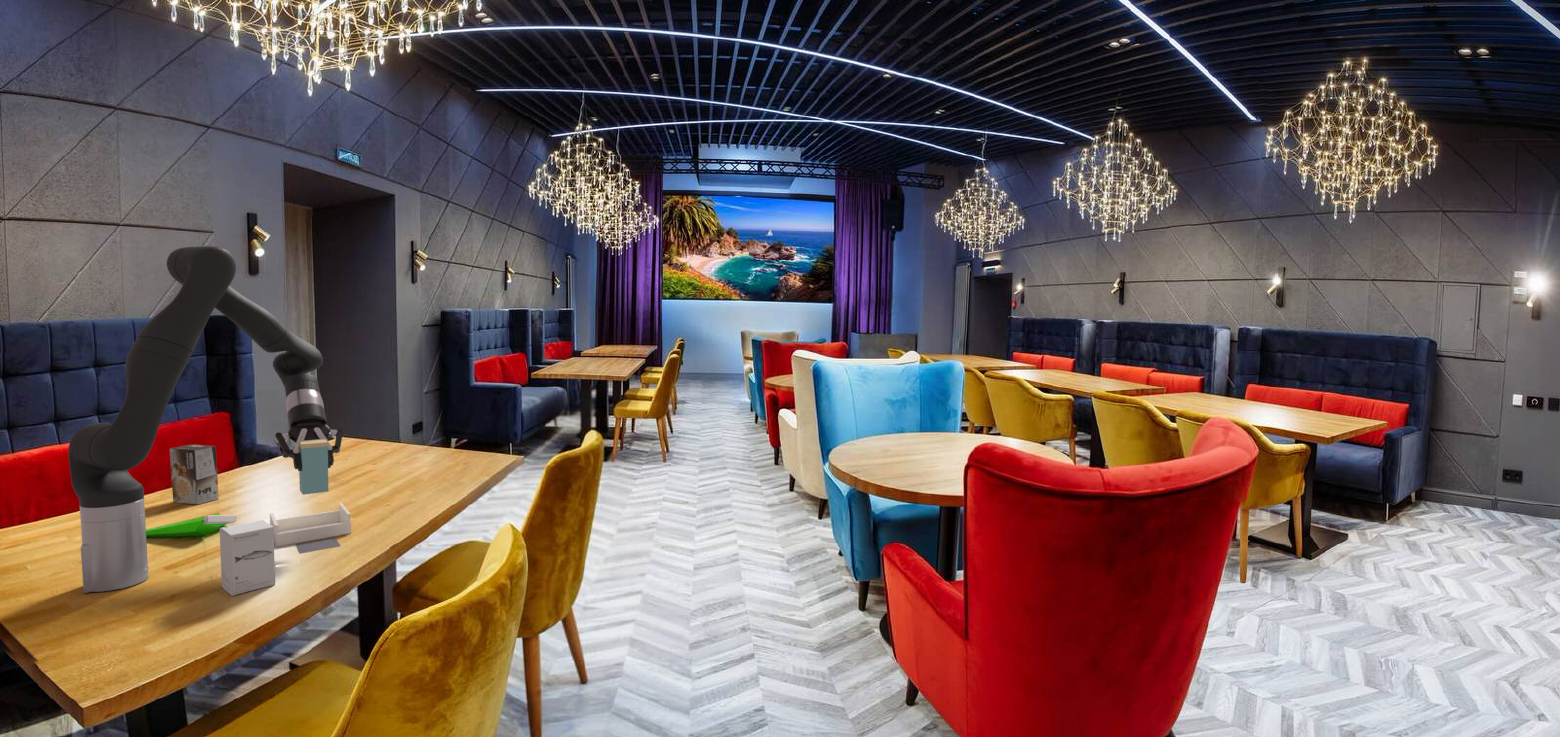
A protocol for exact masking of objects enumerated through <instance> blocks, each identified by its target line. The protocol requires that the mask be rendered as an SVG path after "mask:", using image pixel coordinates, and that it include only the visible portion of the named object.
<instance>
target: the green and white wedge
mask: <svg viewBox="0 0 1560 737" xmlns="http://www.w3.org/2000/svg"><path fill="white" fill-rule="evenodd" d="M237 519H238V517H237V515H234V514H220V513H218V512H217V513H212V514H208V515H203V516H199V517H195V518H191V519H187V520H181V521H177V522H173V523H169V524H164V525H160V526H156V527H155V526H154V527H152V528H148V529H147V528H146V538H163V537H164V538H169V537H168V536H177V537H205V535H210V534H212V533H215V532H216V531H218V530H220V528H223V527H226V525H228V524H229V525H230V524H232V525H233V524H234V523H237V521H238V520H237ZM166 536H167V537H166Z"/></svg>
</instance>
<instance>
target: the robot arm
mask: <svg viewBox="0 0 1560 737" xmlns="http://www.w3.org/2000/svg"><path fill="white" fill-rule="evenodd" d="M236 263H237V262H236V260H235V258H234V256H233V255H232V253H231V252H229V250H227V249H226V248H222V247H218V246H213V245H205V246H204V245H203V246H187V247H186V246H185V247H180V248H176V249H175V250H173V251H172V252H170V253H169V255H168V256H167V260H166V267H167V271H168V273H169V274H170V276H171V278H172V279H173V280H175V281H176V282H177V283H179V284H180V285H181V288H180V290H179V291H178V293H177V295H176V296H175V297H174V298H173V300H172V301H171V302H170V303H169V304H167V305H166V306H165V307H164V308H163V309H162V310H161V311H160V312H159V313H157V314H156V315H155V316H154V317H153V318H151V319H150V320H149V321H148V322H147V324H145V325H144V327H143V328H142V329H141V331H140V332H139V334H138V335H137V336H136V339H135V341H134V342H133V345H132V347H130V348H131V349H129V352H128V354H127V357H126V360H125V380H126V381H125V382H126V393H125V394H126V395H125V399H124V402H123V404H122V405H121V407H120V409H119V412H118V413H117V415H116V417H115V419H114V420H113V422H112V423H111V422H108V423H107V422H97V423H96V422H95V423H90V424H88V425H87V424H86V425H84V426H82V427H81V428H79V429H77V430H76V431H75V433H74V434H73V435H72V437H71V439H70V441H69V444H68V450H67V451H68V452H67V453H68V465H69V472H70V478H71V481H70V482H71V486H72V489H73V492H74V493H75V495H76V496H77V497H78V502H79V515H80V517H79V518H80V531H81V533H80V534H81V545H80V557H81V558H80V559H81V573H82V574H81V575H82V578H81V579H82V591H83V594H86V593H87V594H88V593H93V592H94V593H98V592H99V593H100V592H101V593H102V592H109V591H114V590H115V591H116V590H120V589H126V588H128V587H133V586H135V585H138V584H141V583H144V582H145V581H146V580H147V579H149V563H148V562H149V561H148V544H147V537H146V529H147V526H146V509H145V493H144V492H145V491H144V490H145V488H144V486H143V484H142V483H140V482H139V481H138V480H136V479H135V478H134V477H133V476H132V475H131V474H130V472H129V470H132V469H133V468H134V469H135V467H137V466H140V464H141V463H142V462H144V460H145V459H146V458H147V457H148V455H149V454H150V451H151V450H152V447H153V446H154V443H155V439H156V437H157V434H158V431H159V427H160V425H161V423H162V422H161V421H162V419H163V416H164V414H165V411H166V408H167V406H168V404H169V402H170V399H171V397H172V395H173V393H174V390H175V389H176V386H177V384H178V381H179V380H180V377H181V376H182V374H183V372H184V371H185V369H186V366H187V365H188V363H189V360H190V359H191V356H192V354H193V353H194V350H195V348H196V345H197V343H198V341H199V339H200V337H201V335H202V333H203V331H204V329H205V327H206V326H207V323H208V322H209V319H210V318H211V315H212V314H213V311H214V310H215V309H216V310H217V311H219V312H220V313H221V314H223V315H224V316H225V317H226V318H228V319H229V320H230V321H231V322H232V323H234V324H235V325H236V326H237V327H238V328H239V329H241V330H242V331H243V332H244V333H245V334H246V335H247V336H248V337H249V338H250V339H251V340H252V341H253V342H255V344H256V345H258V346H259V347H260V349H262V350H263V351H265V352H267V353H271V354H273V353H279V354H277V355H276V356H275V357H274V358H273V361H272V367H273V370H274V372H275V373H276V374H277V376H278V377H279V379H280V380H281V383H282V385H283V387H284V389H285V390H284V392H285V397H286V406H285V407H286V415H287V420H288V427H289V430H288V431H287V432H284V433H282V432H280V431H279V432H276V433H275V435H274V443H275V444H276V446H277V448H278V450H279V452H280V453H281V456H282V458H284V459H287V458H291V459H292V461H293V462H292V463H293V468H294V469H295V470H297V471H298V472H299V471H302V460H301V454H300V453H299V452H300V447H299V442H300V441H304V440H316V439H320V440H323V439H325V440H326V441H327V442H328V469H331V467H333V465H334V461H335V458H334V454H339V453H340V451H341V448H342V439H343V433H344V429H343V428H342V427H338V428H337V429H331V428H330V426H329V425H328V423H327V417H326V412H325V405H324V401H323V398H322V396H321V390H320V384H319V381H318V379H317V377H316V376H315V375H313V374H310V373H311V372H313V371H315V370H318V369H320V368H321V367H322V365H323V363H324V358H323V355H322V353H321V352H320V350H319V349H318V348H317V347H316V346H314V345H313V344H311V343H309V342H308V341H307V340H304V339H302V338H301V337H299V336H297V334H294V333H292V332H291V331H290V330H288V328H286V327H285V326H284V325H283V324H282V323H281V322H280V320H278V319H277V318H276V316H274V315H273V314H272V313H271V312H270V311H268V310H267V309H265V308H264V307H262V306H261V305H259V304H257V303H256V302H254V301H252V300H251V299H248V298H247V297H245V296H244V295H242V294H241V293H240V292H238V291H237V290H235V288H233V287H232V286H230V285H231V284H232V282H233V280H234V278H235V275H236V272H237V264H236ZM280 352H281V353H280ZM329 436H331V437H332V439H334V440H335V442H334V445H331V443H330V442H329V439H328V437H329ZM288 439H289V440H291V441H293V443H295V446H294V448H293V449H292V448H291V449H290V447H289V445H288V443H287V442H288Z"/></svg>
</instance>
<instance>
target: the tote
mask: <svg viewBox="0 0 1560 737" xmlns="http://www.w3.org/2000/svg"><path fill="white" fill-rule="evenodd" d="M269 524H270V525H271V526H273V527H274V546H275V547H281V546H286V545H292V544H298V543H304V542H309V541H315V540H321V539H326V538H332V537H337V536H344V535H350V534H352V522H351V513H350V511H349V510H348V509H347V507H346V506H345V505H344V504H343V503H342V502H339V503H338V509H337V510H336V509H335V510H332V511H331V510H330V511H324V512H323V511H322V512H317V513H311V514H305V515H298V516H292V517H291V516H290V517H285V518H278V519H276V517H275V515H274V513H273V512H272V513H271V512H270V513H269Z"/></svg>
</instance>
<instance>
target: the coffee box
mask: <svg viewBox="0 0 1560 737" xmlns="http://www.w3.org/2000/svg"><path fill="white" fill-rule="evenodd" d="M169 456H170V457H169V458H170V474H171V476H170V477H171V488H172V489H171V490H172V491H171V492H172V503H176V504H189V505H201V504H205V503H208V502H209V503H210V502H213V501H217V500H219V499H220V498H219V482H218V476H219V475H218V466H217V465H218V461H217V460H218V459H217V446H216V445H205V444H186V445H181V446H177V447H171V448H169Z"/></svg>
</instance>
